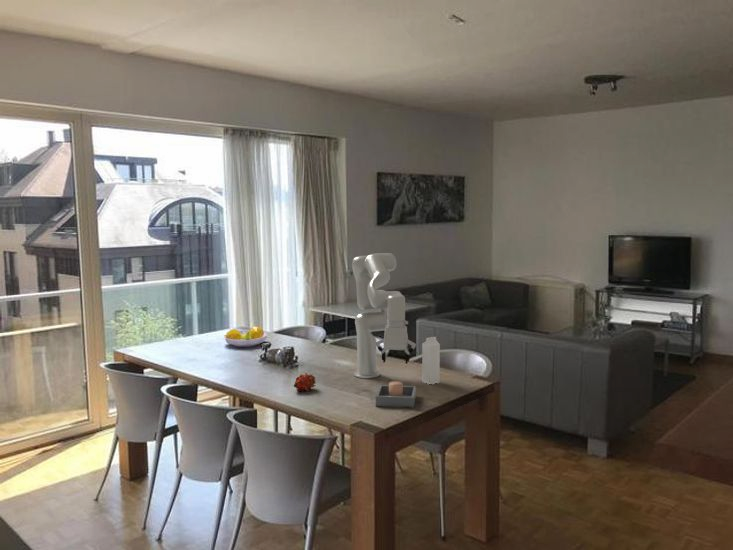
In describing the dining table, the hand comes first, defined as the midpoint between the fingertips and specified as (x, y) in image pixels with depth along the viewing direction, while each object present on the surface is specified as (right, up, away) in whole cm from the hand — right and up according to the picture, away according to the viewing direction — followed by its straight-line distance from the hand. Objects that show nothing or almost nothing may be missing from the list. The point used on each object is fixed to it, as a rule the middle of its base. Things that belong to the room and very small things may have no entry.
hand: (395, 362), depth 255 cm
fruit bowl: (-87, -6, +108) cm, 139 cm away
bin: (0, -17, +1) cm, 17 cm away
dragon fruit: (-41, -16, +17) cm, 47 cm away
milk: (+18, -14, +28) cm, 36 cm away
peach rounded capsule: (0, -16, +1) cm, 16 cm away
